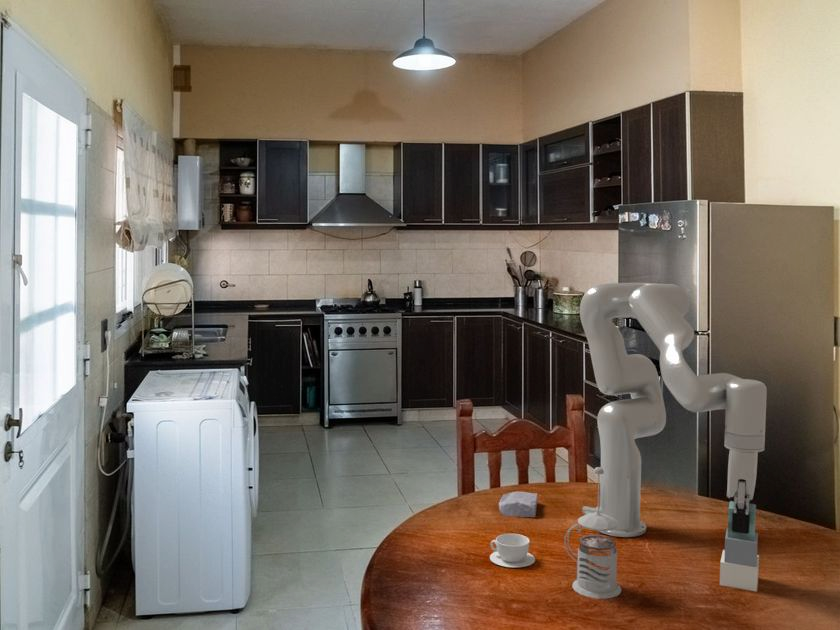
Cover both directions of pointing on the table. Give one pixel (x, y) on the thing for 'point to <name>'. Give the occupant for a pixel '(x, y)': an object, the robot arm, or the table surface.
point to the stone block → (518, 504)
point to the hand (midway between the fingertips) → (741, 525)
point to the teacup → (511, 551)
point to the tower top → (741, 551)
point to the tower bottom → (738, 575)
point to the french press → (596, 578)
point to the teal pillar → (751, 525)
